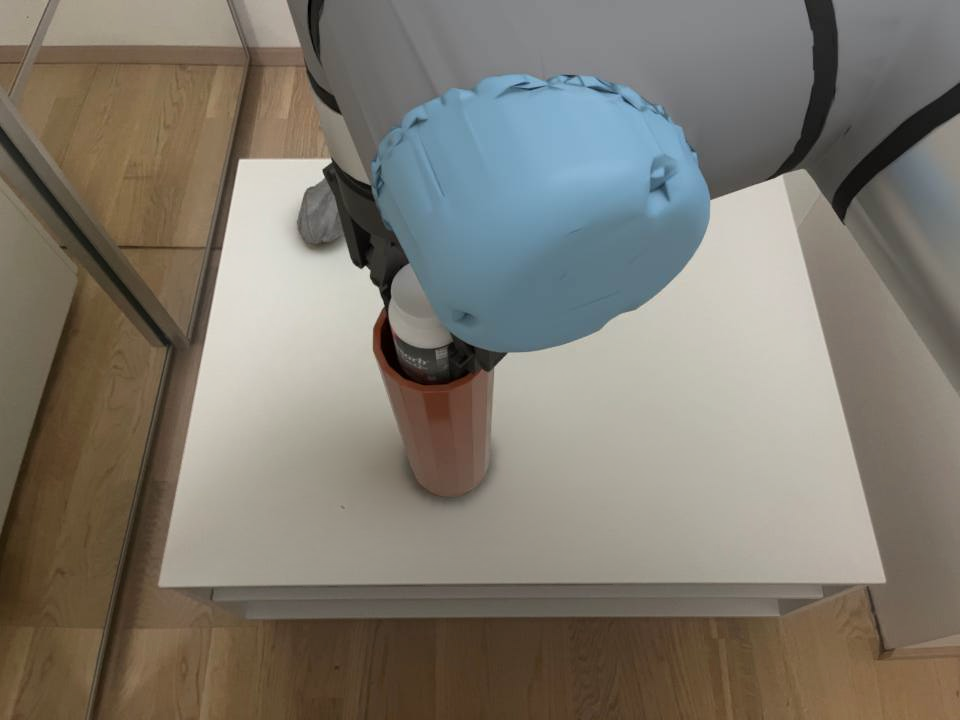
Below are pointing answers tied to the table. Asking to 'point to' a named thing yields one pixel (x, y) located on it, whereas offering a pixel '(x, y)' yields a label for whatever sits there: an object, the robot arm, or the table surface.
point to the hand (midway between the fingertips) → (436, 350)
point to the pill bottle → (418, 331)
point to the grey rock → (319, 215)
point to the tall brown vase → (438, 420)
